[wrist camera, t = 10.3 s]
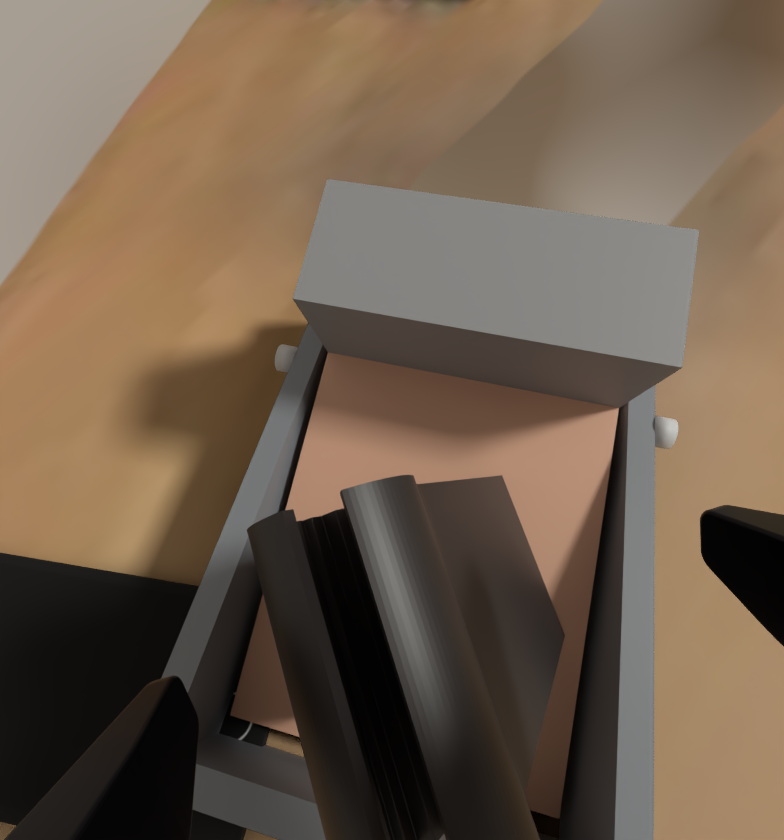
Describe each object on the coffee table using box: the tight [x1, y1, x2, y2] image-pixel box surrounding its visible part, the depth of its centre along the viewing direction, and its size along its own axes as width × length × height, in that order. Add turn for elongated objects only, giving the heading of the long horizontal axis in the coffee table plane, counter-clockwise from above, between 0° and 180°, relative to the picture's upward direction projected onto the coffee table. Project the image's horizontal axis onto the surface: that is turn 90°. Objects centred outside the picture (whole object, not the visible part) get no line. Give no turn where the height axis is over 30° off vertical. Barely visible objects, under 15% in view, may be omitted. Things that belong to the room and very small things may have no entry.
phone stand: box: [247, 475, 565, 840], centre depth 12 cm, size 9×6×12 cm, turn 106°
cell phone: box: [0, 553, 269, 840], centre depth 19 cm, size 9×18×1 cm, turn 81°
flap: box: [230, 179, 699, 819], centre depth 18 cm, size 19×12×10 cm, turn 166°
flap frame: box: [161, 323, 678, 840], centre depth 20 cm, size 21×16×5 cm
